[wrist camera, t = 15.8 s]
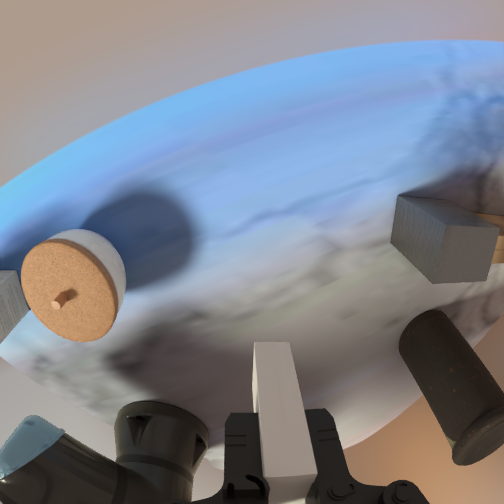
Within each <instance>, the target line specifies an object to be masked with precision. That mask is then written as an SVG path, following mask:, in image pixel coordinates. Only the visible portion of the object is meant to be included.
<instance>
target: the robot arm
mask: <svg viewBox="0 0 504 504" xmlns="http://www.w3.org/2000/svg"><path fill="white" fill-rule="evenodd" d="M252 391H253V407H254V413H230V415H229V417H228V419H227V421H226V422H225V454H224V483H223V486H222V488H221V489H220V490H219V492H218V493H216V494H215V495H213V496H212V497H209V498H206V499H202V500H198V501H193V502H191V500H192V487H193V478H194V474H195V473H196V471H197V469H198V467H199V465H200V463H201V461H202V459H203V457H204V455H205V453H206V451H207V448H208V439H209V434H208V430H207V428H206V427H205V425H204V424H203V423H202V422H201V421H200V420H199V419H197V418H196V417H195V416H193V415H192V414H190V413H188V412H186V411H184V410H182V409H179V408H177V407H174V406H171V405H167V404H162V403H156V402H136V403H132V404H129V405H126V406H124V407H123V408H122V409H121V410H120V411H119V413H118V415H117V418H116V421H115V426H114V431H115V443H116V454H117V458H116V462H114V461H112V460H110V459H109V458H107V457H105V456H103V455H101V454H100V453H98V452H96V451H94V450H93V449H91V448H89V447H87V446H86V445H84V444H82V443H81V442H79V441H77V440H76V439H74V438H72V437H71V436H69V435H68V434H67V433H65V430H63V429H59V428H57V427H56V426H54V425H53V424H51V423H50V422H48V421H46V420H45V419H43V418H41V417H40V416H37V415H30V416H27V417H26V418H25V419H24V420H23V421H22V422H21V423H20V424H19V426H18V427H17V428H16V429H15V431H14V432H13V433H12V434H11V436H10V437H9V439H8V440H7V441H6V442H5V444H4V445H3V446H2V448H1V449H0V504H304V503H305V502H306V504H429V502H428V501H427V500H426V498H425V497H424V495H423V494H422V493H421V491H420V490H419V488H418V487H417V486H416V485H415V484H414V483H412V482H410V481H407V480H398V481H395V482H392V483H391V484H389V485H388V486H372V485H365V484H362V483H360V482H358V481H356V480H355V479H354V478H353V477H352V476H351V475H350V473H349V470H348V467H347V464H346V460H345V457H344V453H343V449H342V446H341V442H340V440H339V435H338V432H337V430H336V425H335V422H334V418H333V417H332V416H331V414H330V413H329V412H328V411H327V410H326V409H325V408H322V409H310V410H304V407H303V402H302V398H301V393H300V388H299V384H298V379H297V375H296V370H295V366H294V361H293V357H292V352H291V348H290V343H289V341H287V342H254V358H253V380H252Z"/></svg>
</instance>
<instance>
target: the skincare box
mask: <svg viewBox="0 0 504 504" xmlns="http://www.w3.org/2000/svg"><path fill="white" fill-rule="evenodd" d="M28 311H29V308H28V306H27V303H26V300H25V297H24V294H23V290H22V287H21V284H20V281H19V277H18V274H17V271H16V270H0V344H1V342H2V341H3V340H4V339H5V338H6V337H7V335H8V334H9V333H10V332H11V331H12V330H13V328H14V327H15V326H16V325H17V324H18V323H19V321H20V320H21V319H22V318H23V317H24V316H25V315H26V314H27V313H28Z"/></svg>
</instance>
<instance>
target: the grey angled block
mask: <svg viewBox="0 0 504 504" xmlns="http://www.w3.org/2000/svg"><path fill="white" fill-rule="evenodd" d="M499 231H500V228H498V227H496V226H495V225H493V224H491V223H489V222H488V221H486V220H484V219H482V218H480V217H479V216H477V215H475V214H473V213H471V212H469V211H467V210H466V209H464V208H462V207H460V206H458V205H456V204H454V203H452V202H450V201H448V200H440V199H430V198H419V197H408V196H397V203H396V210H395V217H394V223H393V230H392V236H391V242H390V243H391V244H392V245H393V246H394V247H396V248H397V249H398V250H399V251H400V252H401V253H402V254H403V255H404V256H405V257H406V258H407V259H408V260H409V261H410V262H411V263H412V264H413V265H414V266H415V267H416V268H417V269H418V270H419V271H420V272H421V273H422V274H423V275H424V276H425V277H426V278H427V279H428V280H429V281H430V282H431V283H432V284H439V283H459V282H477V281H486V279H487V276H488V273H489V269H490V266H491V262H492V259H493V255H494V251H495V247H496V244H497V239H498V235H499Z"/></svg>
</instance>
